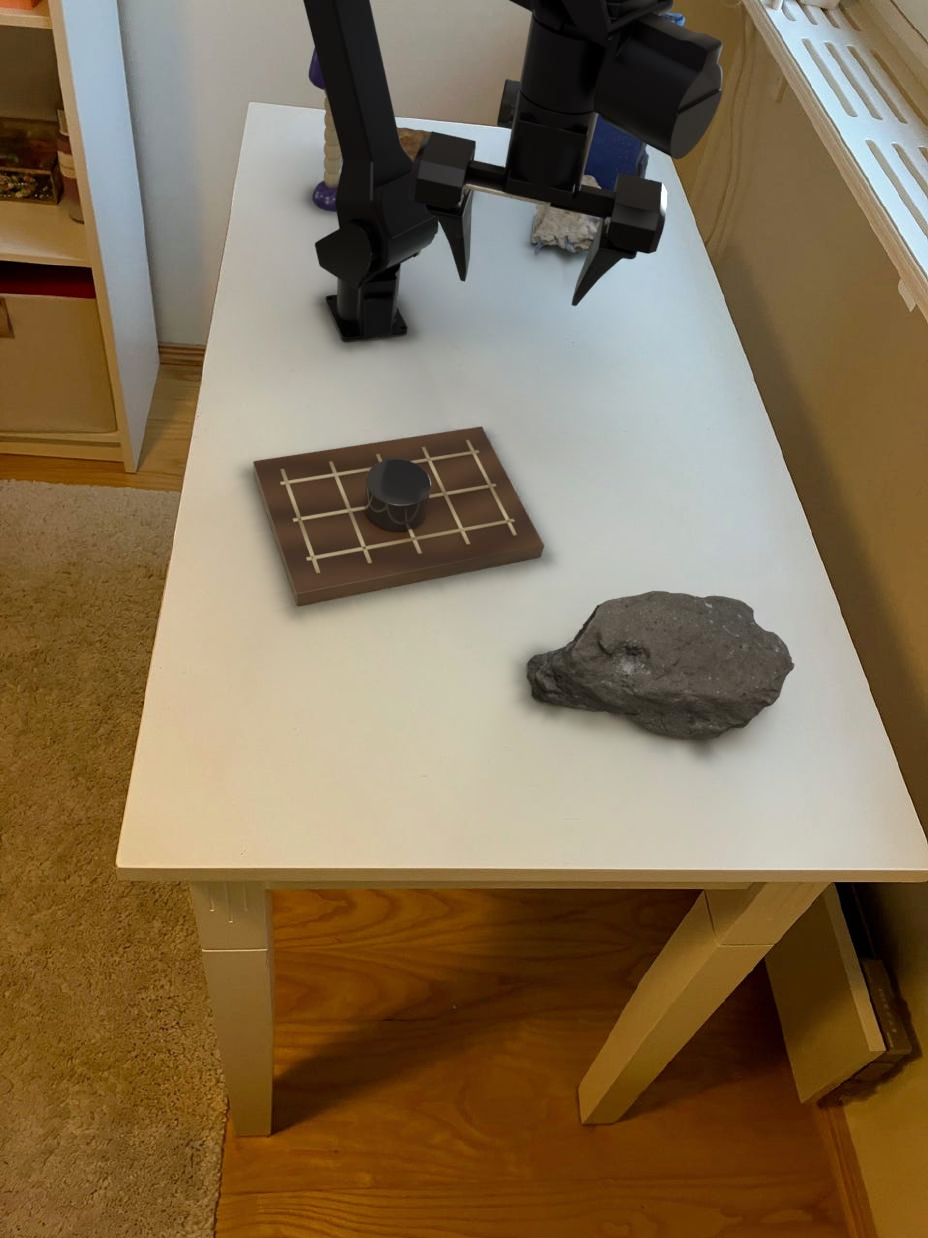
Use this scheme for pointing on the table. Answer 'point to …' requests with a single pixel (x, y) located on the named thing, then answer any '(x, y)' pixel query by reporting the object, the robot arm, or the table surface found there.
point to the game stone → (397, 494)
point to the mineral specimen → (565, 226)
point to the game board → (378, 558)
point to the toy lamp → (326, 148)
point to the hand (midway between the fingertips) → (518, 290)
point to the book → (618, 147)
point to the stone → (667, 664)
